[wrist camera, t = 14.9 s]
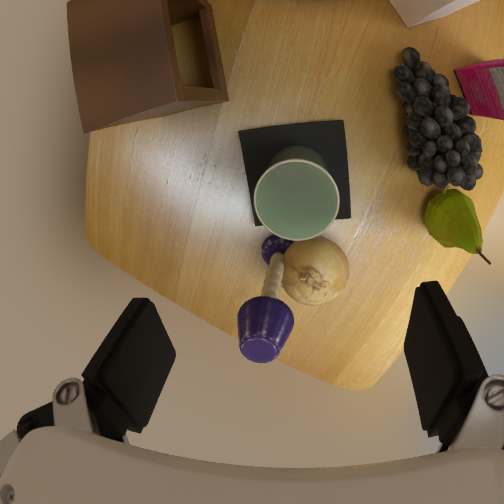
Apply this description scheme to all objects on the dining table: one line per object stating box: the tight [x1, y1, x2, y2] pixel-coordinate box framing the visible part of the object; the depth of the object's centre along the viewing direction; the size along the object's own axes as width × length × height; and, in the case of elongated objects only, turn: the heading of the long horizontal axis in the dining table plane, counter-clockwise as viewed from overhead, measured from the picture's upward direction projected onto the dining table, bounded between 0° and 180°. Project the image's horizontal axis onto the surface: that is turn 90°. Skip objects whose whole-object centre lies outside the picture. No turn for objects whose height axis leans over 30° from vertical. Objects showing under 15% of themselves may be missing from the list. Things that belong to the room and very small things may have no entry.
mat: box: [239, 120, 351, 226], centre depth 31 cm, size 11×11×1 cm
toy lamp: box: [238, 235, 294, 363], centre depth 28 cm, size 5×5×17 cm
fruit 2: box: [424, 189, 491, 265], centre depth 24 cm, size 6×6×12 cm
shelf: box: [67, 0, 229, 133], centre depth 20 cm, size 12×8×14 cm, turn 9°
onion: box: [281, 236, 349, 305], centre depth 32 cm, size 8×8×7 cm
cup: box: [254, 145, 340, 241], centre depth 27 cm, size 7×7×9 cm
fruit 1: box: [394, 47, 483, 194], centre depth 22 cm, size 9×8×15 cm
